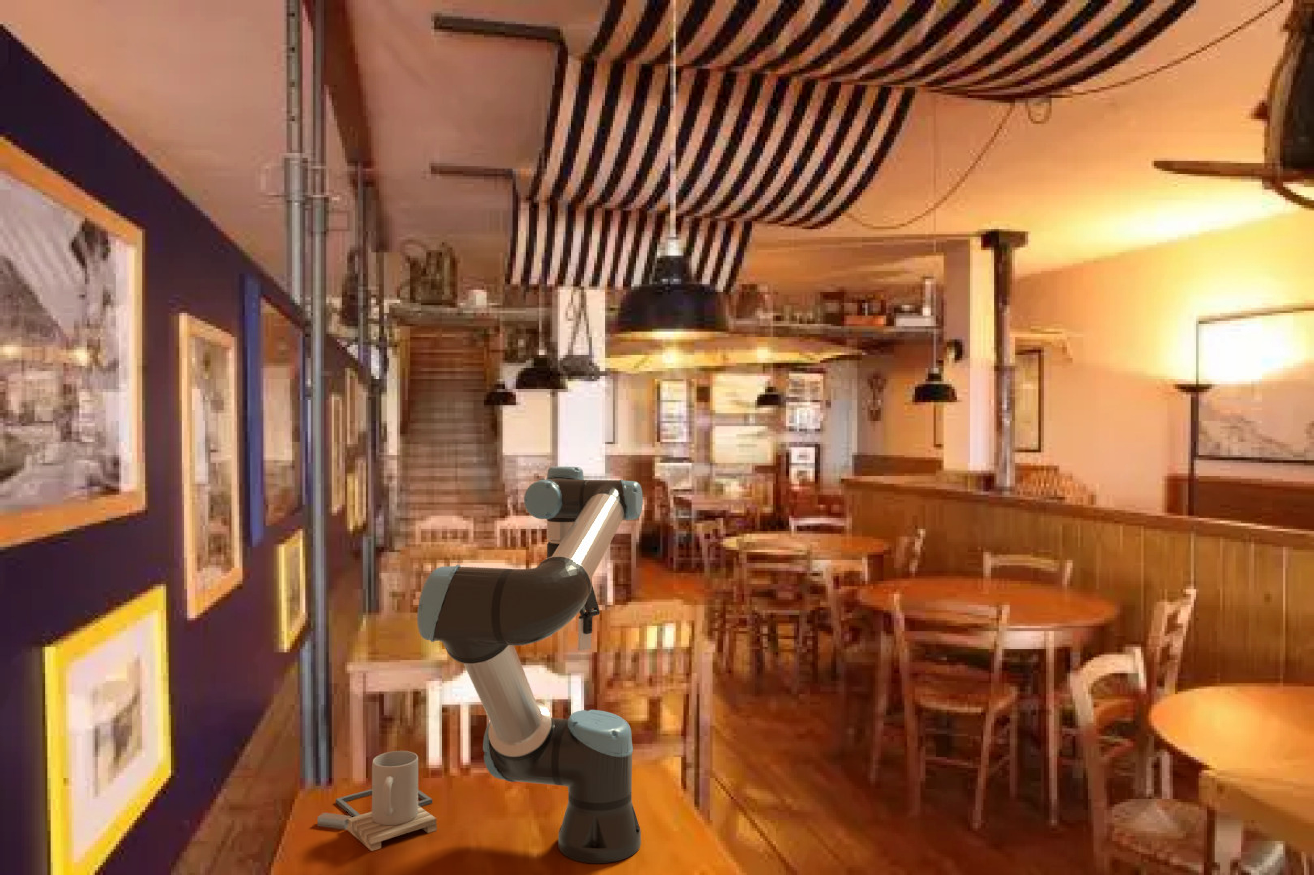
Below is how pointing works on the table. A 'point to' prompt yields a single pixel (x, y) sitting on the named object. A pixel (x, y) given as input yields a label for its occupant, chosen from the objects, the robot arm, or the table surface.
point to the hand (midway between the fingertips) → (564, 643)
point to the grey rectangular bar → (333, 821)
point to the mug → (394, 788)
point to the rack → (387, 828)
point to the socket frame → (352, 812)
